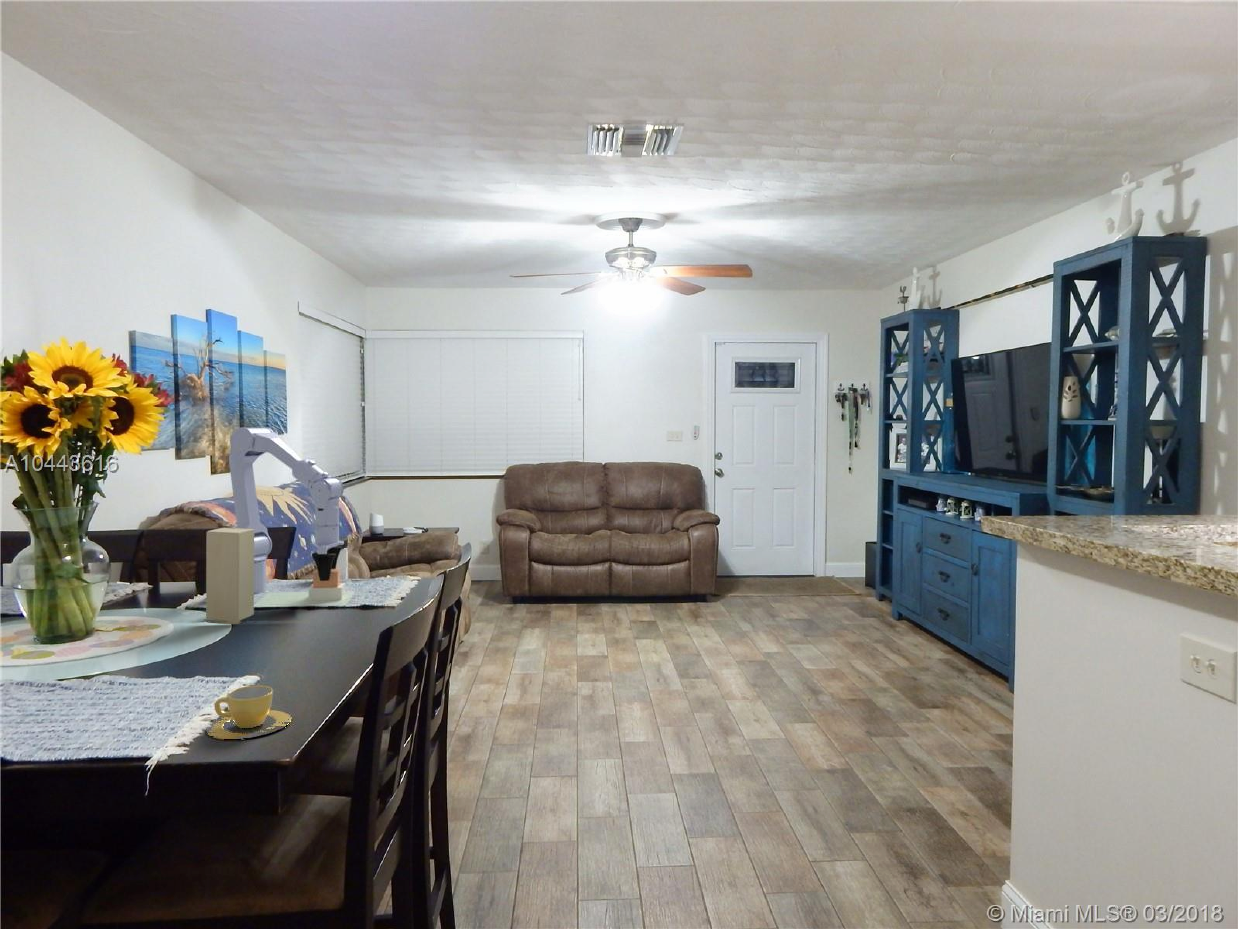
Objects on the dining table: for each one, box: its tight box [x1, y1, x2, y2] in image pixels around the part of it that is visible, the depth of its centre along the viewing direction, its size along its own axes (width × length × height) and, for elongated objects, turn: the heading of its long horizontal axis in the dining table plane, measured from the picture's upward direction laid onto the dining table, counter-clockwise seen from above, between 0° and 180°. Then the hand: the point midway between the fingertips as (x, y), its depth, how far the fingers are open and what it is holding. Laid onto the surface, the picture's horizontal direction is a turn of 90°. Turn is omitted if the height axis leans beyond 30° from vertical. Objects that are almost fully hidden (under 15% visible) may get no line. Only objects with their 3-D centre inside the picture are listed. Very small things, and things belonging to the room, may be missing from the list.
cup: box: [207, 685, 293, 740], centre depth 123 cm, size 12×12×5 cm
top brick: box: [312, 568, 341, 588], centre depth 205 cm, size 6×4×4 cm, turn 100°
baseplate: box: [254, 590, 356, 608], centre depth 204 cm, size 22×16×1 cm
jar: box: [316, 536, 349, 583], centre depth 231 cm, size 9×8×12 cm
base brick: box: [308, 582, 346, 600], centre depth 206 cm, size 8×6×3 cm
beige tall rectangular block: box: [205, 527, 255, 625], centre depth 184 cm, size 8×7×21 cm
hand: (327, 577), depth 206 cm, fingers open, 7 cm apart
